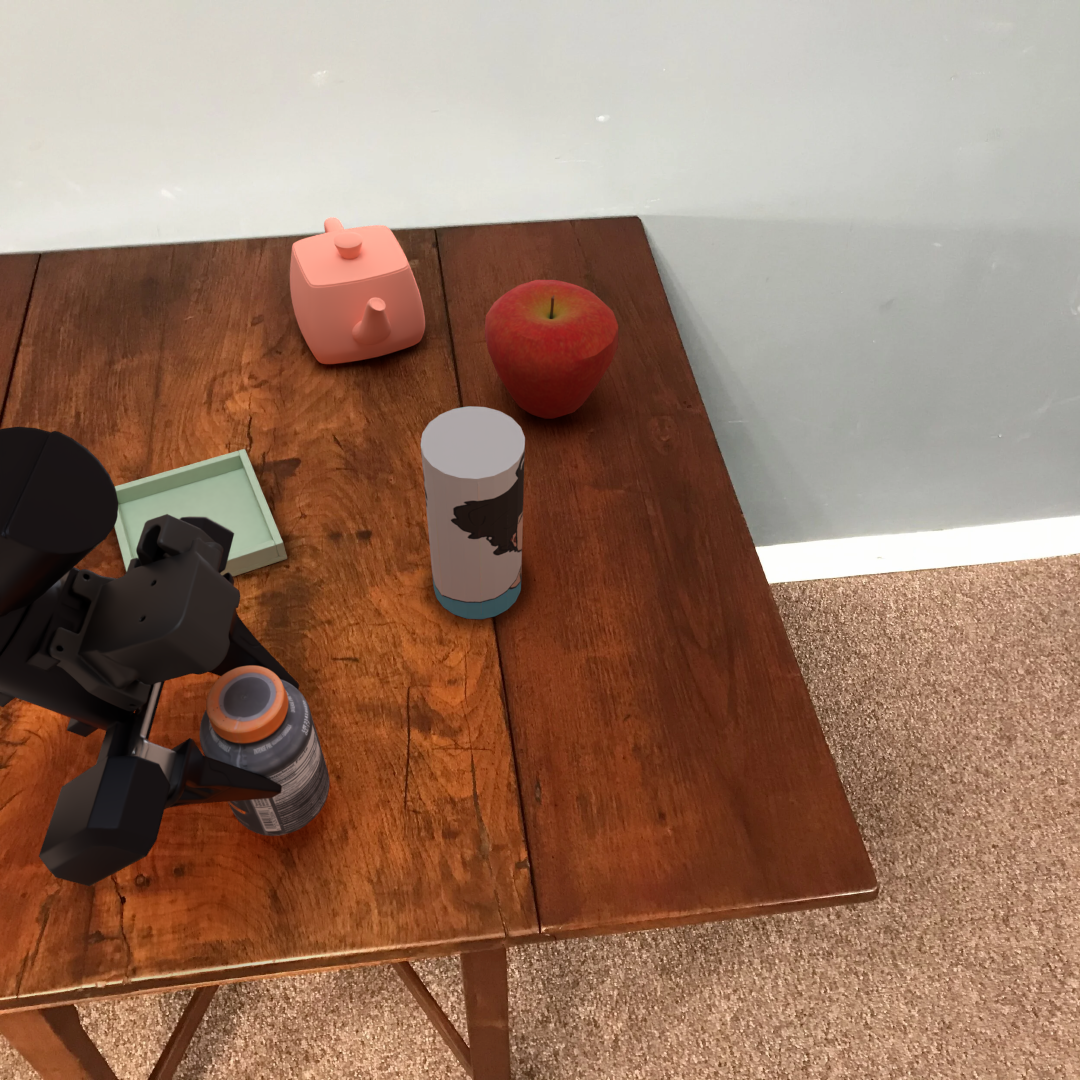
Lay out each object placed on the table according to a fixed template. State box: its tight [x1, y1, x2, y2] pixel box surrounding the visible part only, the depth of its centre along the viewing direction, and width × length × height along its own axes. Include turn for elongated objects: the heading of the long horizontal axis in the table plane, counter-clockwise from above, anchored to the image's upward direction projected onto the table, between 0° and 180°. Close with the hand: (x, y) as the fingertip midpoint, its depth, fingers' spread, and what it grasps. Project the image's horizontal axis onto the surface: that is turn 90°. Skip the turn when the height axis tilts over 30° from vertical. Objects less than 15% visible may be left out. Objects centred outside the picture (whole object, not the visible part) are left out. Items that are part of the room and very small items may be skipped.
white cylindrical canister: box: [420, 405, 526, 620], centre depth 66 cm, size 7×7×15 cm
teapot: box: [289, 216, 426, 365], centre depth 87 cm, size 12×18×10 cm, turn 22°
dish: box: [114, 448, 288, 577], centre depth 74 cm, size 11×11×2 cm
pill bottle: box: [198, 665, 330, 837], centre depth 53 cm, size 6×6×11 cm
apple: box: [484, 279, 620, 420], centre depth 81 cm, size 11×11×12 cm
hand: (286, 740), depth 52 cm, fingers closed on pill bottle, 6 cm apart
